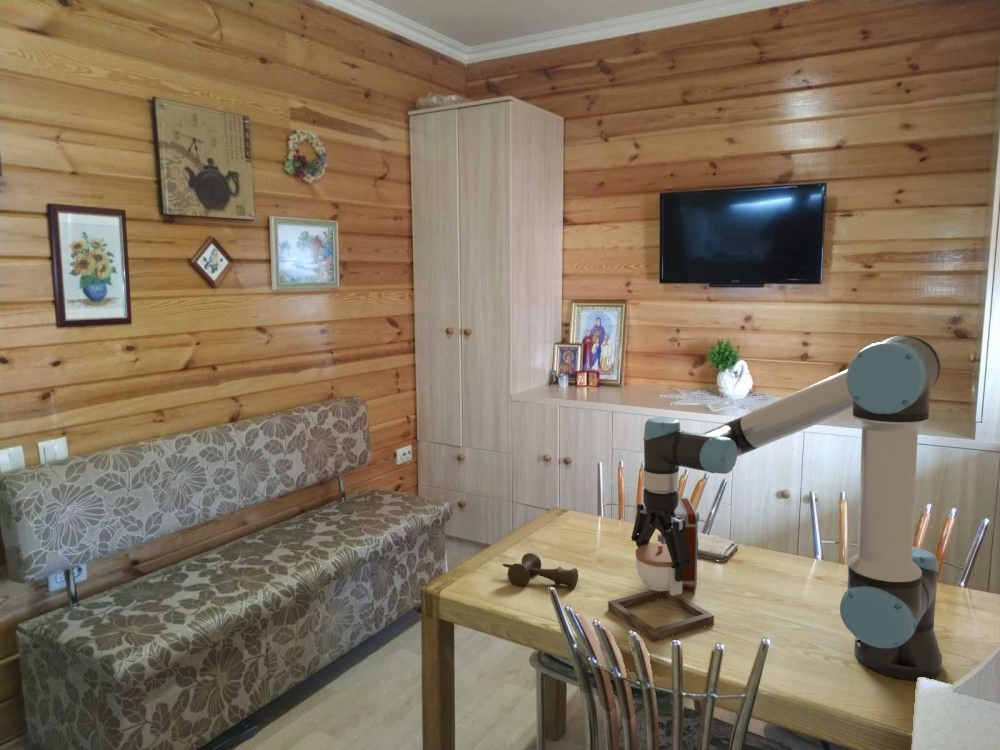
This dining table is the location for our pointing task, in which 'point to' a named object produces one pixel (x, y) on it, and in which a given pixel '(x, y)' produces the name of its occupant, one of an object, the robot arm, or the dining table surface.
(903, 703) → the dining table surface
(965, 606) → the dining table surface
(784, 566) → the dining table surface
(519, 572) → the kendama
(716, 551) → the washcloth
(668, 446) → the robot arm
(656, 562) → the lidded jar
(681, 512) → the cine camera
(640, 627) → the brown wooden tray
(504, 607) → the dining table surface
